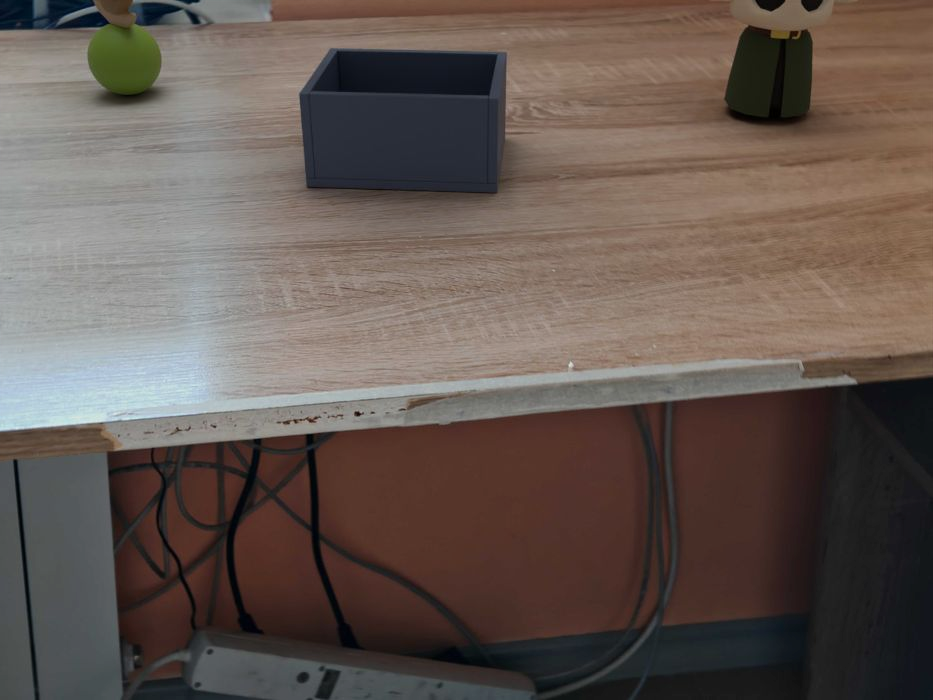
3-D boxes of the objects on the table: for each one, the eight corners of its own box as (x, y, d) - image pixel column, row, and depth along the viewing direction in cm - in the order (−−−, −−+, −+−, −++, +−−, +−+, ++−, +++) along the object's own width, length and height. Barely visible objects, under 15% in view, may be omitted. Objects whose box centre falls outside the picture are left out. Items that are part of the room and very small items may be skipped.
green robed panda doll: (697, 126, 78) (719, -65, 71) (686, 95, 84) (704, -84, 77) (851, 129, 77) (888, -64, 70) (829, 97, 83) (860, -83, 76)
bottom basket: (306, 187, 68) (298, 93, 65) (335, 132, 76) (330, 47, 73) (497, 193, 67) (498, 98, 64) (505, 137, 76) (506, 51, 73)
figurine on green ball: (135, 76, 88) (110, -81, 82) (180, 92, 84) (156, -70, 78) (74, 90, 85) (43, -71, 79) (117, 109, 81) (88, -60, 75)
